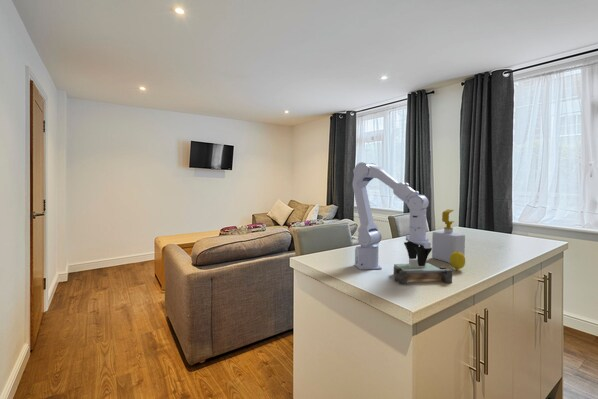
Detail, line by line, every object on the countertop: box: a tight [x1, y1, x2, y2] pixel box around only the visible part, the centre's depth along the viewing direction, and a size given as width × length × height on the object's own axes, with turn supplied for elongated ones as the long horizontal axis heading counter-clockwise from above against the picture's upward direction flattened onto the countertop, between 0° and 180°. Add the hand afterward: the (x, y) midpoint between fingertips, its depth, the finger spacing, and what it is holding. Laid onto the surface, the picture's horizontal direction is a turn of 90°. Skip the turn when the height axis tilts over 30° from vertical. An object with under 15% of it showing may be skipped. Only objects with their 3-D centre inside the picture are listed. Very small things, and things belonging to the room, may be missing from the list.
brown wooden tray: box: [393, 266, 453, 286], centre depth 104 cm, size 19×11×4 cm, turn 95°
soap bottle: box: [431, 209, 466, 264], centre depth 128 cm, size 12×7×23 cm, turn 23°
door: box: [393, 258, 448, 274], centre depth 105 cm, size 17×10×4 cm, turn 95°
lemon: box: [449, 251, 466, 271], centre depth 114 cm, size 6×6×8 cm
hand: (416, 263), depth 105 cm, fingers open, 6 cm apart
